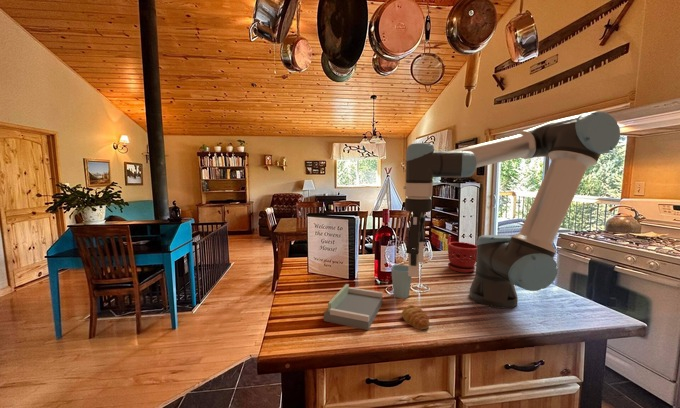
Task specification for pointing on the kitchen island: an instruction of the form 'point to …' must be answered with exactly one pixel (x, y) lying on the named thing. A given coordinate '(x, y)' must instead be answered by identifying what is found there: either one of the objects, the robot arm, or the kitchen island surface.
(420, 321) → the pastry
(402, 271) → the cup
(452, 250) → the plant pot
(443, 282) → the kitchen island surface
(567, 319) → the kitchen island surface
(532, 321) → the kitchen island surface
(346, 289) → the dock
